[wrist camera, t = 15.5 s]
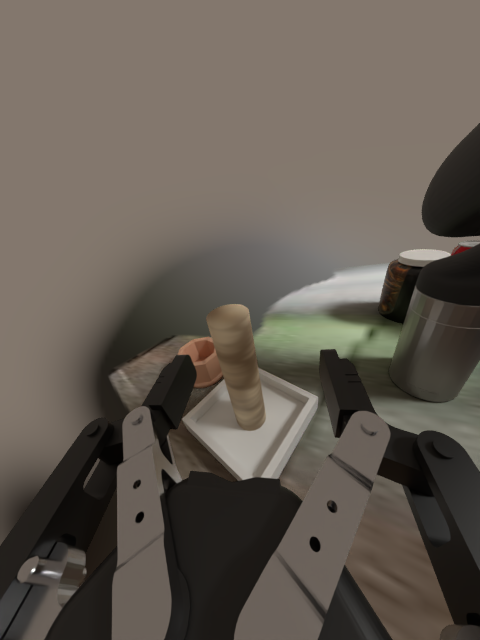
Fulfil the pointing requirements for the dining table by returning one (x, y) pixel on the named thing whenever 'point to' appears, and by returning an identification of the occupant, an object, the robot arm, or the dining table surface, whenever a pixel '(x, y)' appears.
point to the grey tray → (259, 445)
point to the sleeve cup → (203, 361)
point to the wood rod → (238, 363)
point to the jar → (404, 281)
